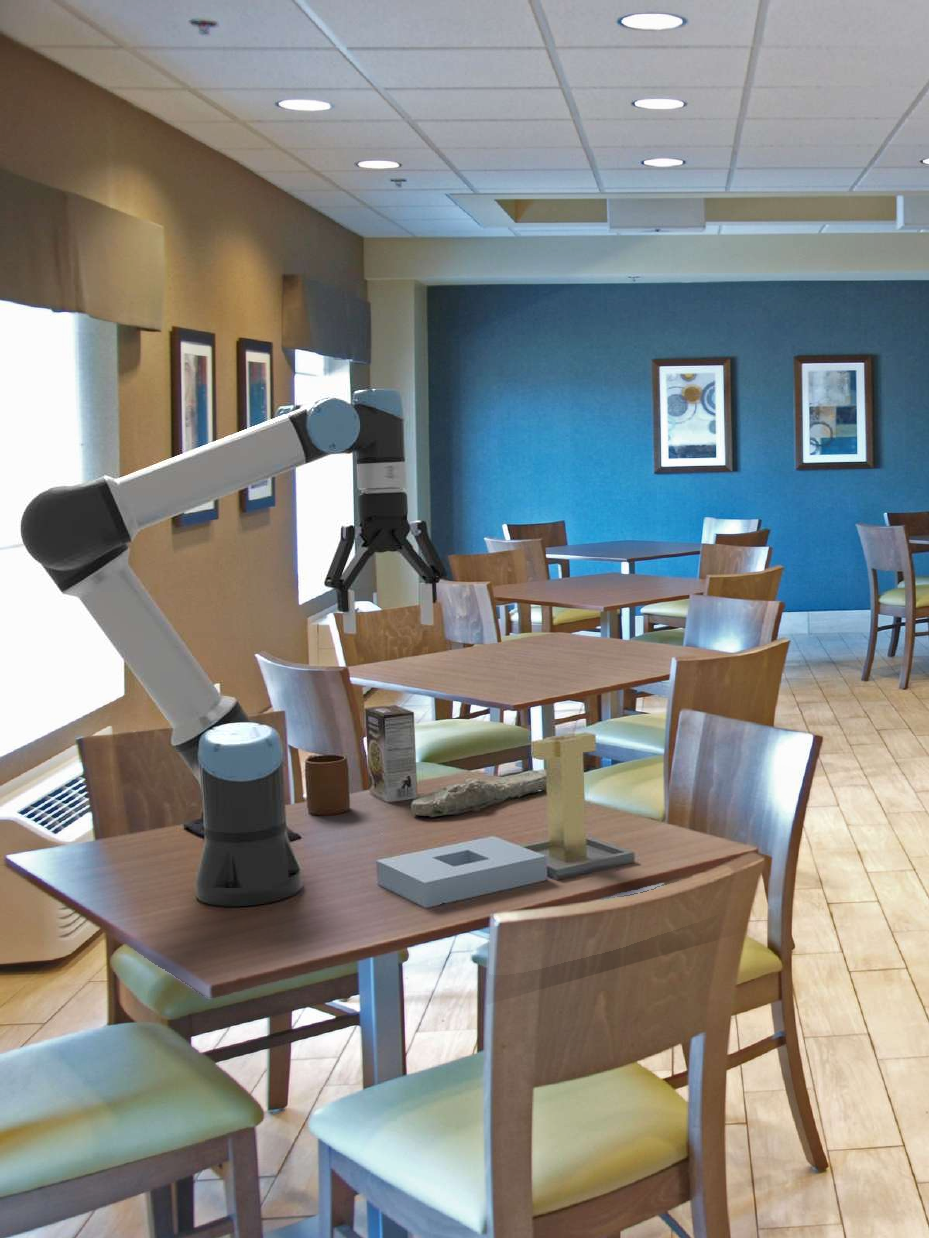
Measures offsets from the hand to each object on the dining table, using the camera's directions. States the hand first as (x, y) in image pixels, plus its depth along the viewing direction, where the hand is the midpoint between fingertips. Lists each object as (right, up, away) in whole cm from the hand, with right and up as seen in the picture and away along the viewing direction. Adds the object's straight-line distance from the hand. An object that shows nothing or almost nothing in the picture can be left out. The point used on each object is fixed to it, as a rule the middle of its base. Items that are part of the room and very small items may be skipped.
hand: (389, 629), depth 213 cm
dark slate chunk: (-26, -35, +18) cm, 47 cm away
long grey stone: (+16, -31, +33) cm, 48 cm away
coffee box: (-1, -31, +39) cm, 50 cm away
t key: (+27, -34, -8) cm, 44 cm away
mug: (-13, -32, +32) cm, 47 cm away
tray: (+27, -35, -8) cm, 45 cm away
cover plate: (+11, -36, -16) cm, 41 cm away
